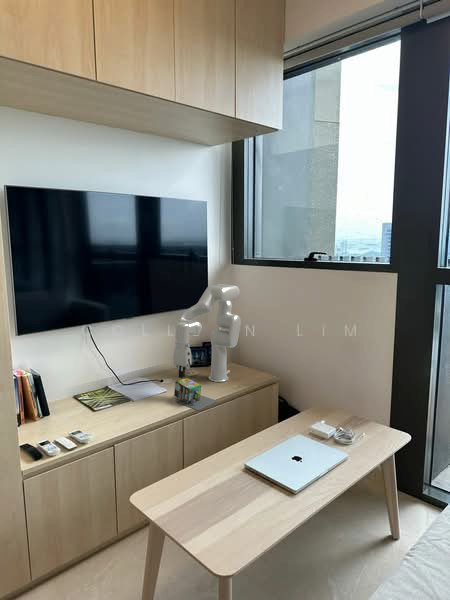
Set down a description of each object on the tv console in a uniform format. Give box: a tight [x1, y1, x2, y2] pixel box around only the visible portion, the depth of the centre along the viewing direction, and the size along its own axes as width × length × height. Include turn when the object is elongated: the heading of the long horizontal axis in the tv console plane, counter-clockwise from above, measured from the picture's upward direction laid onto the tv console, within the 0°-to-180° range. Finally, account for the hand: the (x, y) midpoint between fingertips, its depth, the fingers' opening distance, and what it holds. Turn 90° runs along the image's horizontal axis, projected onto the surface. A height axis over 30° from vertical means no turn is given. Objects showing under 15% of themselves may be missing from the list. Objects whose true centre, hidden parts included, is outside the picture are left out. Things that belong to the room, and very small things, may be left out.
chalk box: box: [173, 377, 202, 404], centre depth 217 cm, size 9×9×15 cm
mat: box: [175, 394, 218, 412], centre depth 217 cm, size 16×16×1 cm
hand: (181, 377), depth 222 cm, fingers closed
